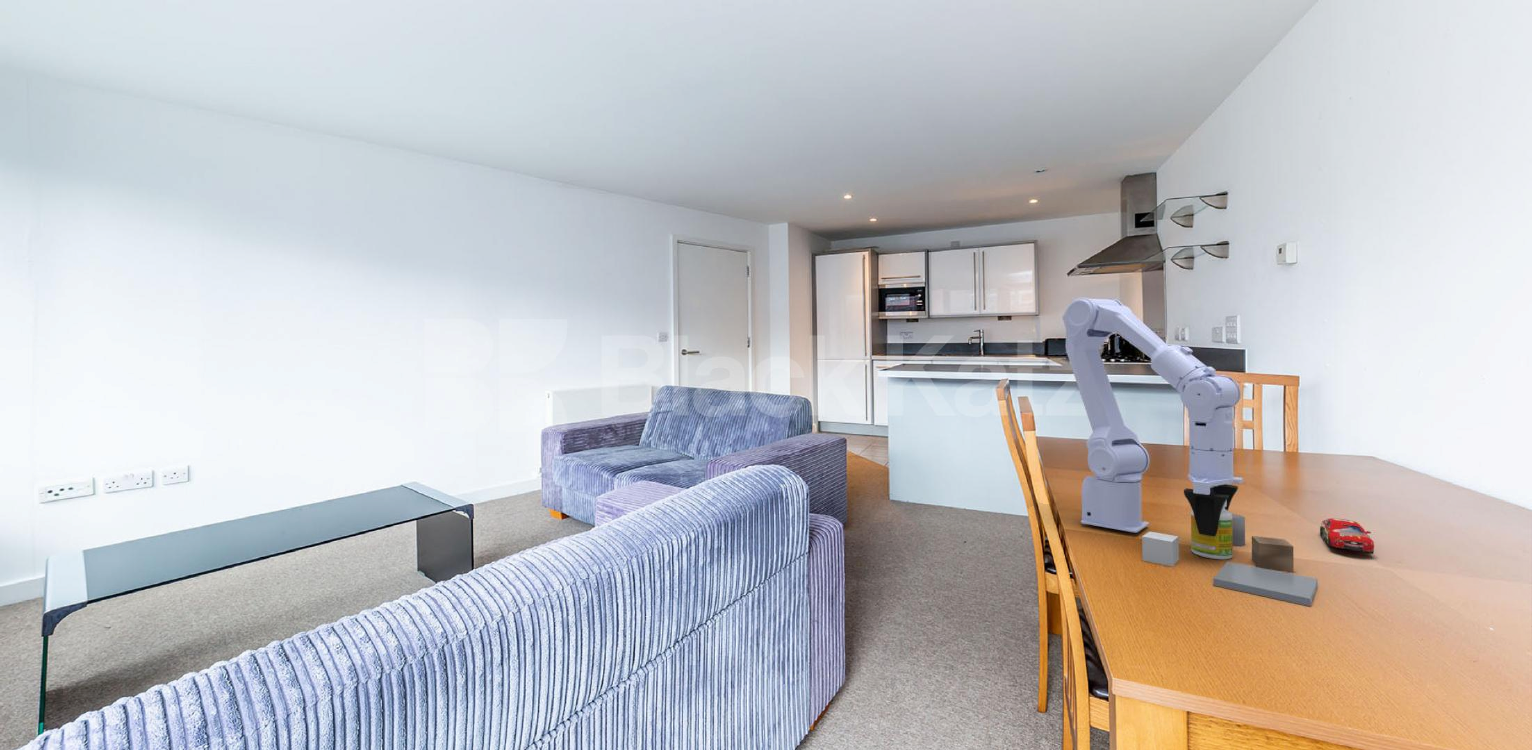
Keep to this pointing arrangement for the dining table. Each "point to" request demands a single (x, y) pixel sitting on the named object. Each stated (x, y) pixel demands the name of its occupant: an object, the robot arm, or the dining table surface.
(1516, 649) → the dining table surface
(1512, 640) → the dining table surface
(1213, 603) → the dining table surface
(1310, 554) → the dining table surface
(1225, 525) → the supplement bottle
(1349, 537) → the race car
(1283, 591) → the slate tile
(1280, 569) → the walnut block
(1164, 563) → the grey block
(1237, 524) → the slate grey block
